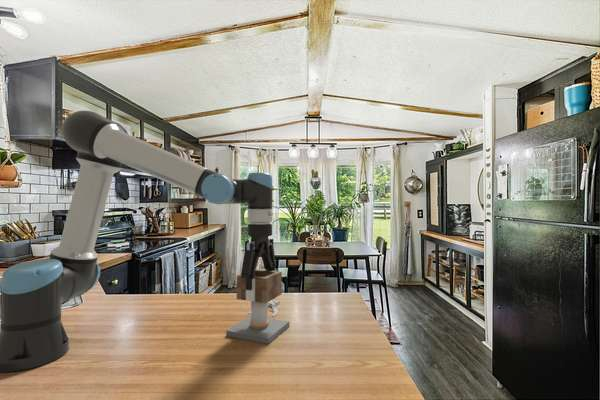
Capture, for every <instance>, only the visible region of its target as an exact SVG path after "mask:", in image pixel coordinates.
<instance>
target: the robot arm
mask: <svg viewBox="0 0 600 400" xmlns="http://www.w3.org/2000/svg"><path fill="white" fill-rule="evenodd" d="M61 135H62V137H63V140H64V141H65V142H66V144H67V145H68V146H69V147H70V148H71V149H72V150H74V151H76V152H77V154H76V158H75V160H76V161H77V162H78V164H79V165H80V167H79V170H78V171H79V172H78V175H77V179H76V183H75V186H74V190H73V193H72V197H71V201H70V205H69V208H68V211H67V215H66V219H65V223H64V227H63V231H62V233H61V234H62V235H61V238H60V242H59V245H58V246H57V247H55V248H53V249H51V250H50V253H49V257H48V258H41V259H33V260H30V261H22V262H20V263H16V264H14V265H12V266H9V267H7V268H6V269H5V270H4V271H3V273H2V276H1V283H0V373H9V372H10V373H13V372H19V371H26V370H29V369H33V368H36V367H40V366H43V365H47V364H49V363H52V362H54V361H56V360H58V359H60V358H62V357H63V356H65V354H67V353H68V351H69V349H70V340H69V338H68V337H69V336H68V334H67V332H66V329H65V327H64V325H63V322H62V304H63V303H66V302H69V301H70V300H73V299H74V298H79V297H81V296H82V295H84V294H86V293H87V292H89V291H90V290H92V289H93V288H94V287H95V286H96V284H97V283H98V281H99V279H100V276H101V267H100V265H99V264H98V258H99V255H98V253H97V252H96V250H95V247H96V243H97V239H98V235H99V231H100V228H101V223H102V220H103V216H104V213H105V208H106V206H107V200H108V198H109V193H110V189H111V185H112V182H113V178H114V175H115V173H117V172H119V171H121V170H122V167H123V165H125V166H128V167H130V168H133V169H134V170H137V171H140V172H142V173H145V174H147V175H149V176H151V177H154V178H156V179H159V180H161V181H164V182H165V183H168V184H170V185H173V186H175V187H178V188H180V189H182V190H184V191H187V192H189V193H191V194H195V195H196V196H199V197H200V198H202V199H205V200H207V201H208V203H209V204H215V205H223V204H226V205H231V204H233V205H234V204H236V205H238V204H243V205H247V222H248V224H247V236H248V237H250V242H245V243H244V253H243V258H242V259H243V261H242V266H241V273H240V274H241V277H242V278H245V279H246V300H245V301H246V302H247V301H248V302H251V301H253V302H254V301H255V278H254V274H255V270H257V266H258V262H259V259H260V257H261V259H262V263H263V267H264V270H267V271H276V267H277V263H276V255H275V249H274V242H275V241H274V238H269V237H272V236H273V224H272V222H273V215H274V213H273V193H274V192H273V176H272V174H270V173H268V172H258V171H257V172H249V173H248V174H247V178H245V179H236V178H235V179H233V178H230V177H228V176H227V175H224V174H222V173H218V172H216V171H215V170H214V171H213V170H211V169H209V168H208V167H204V166H203V165H200V164H197V163H195V162H193V161H191V160H189V159H186V158H184V157H181V156H180V155H177V154H175V153H173V152H170V151H167V150H165V149H163V148H162V147H158V146H156V145H154V144H151V143H149V142H147V141H144V140H142V139H140V138H137V137H135V136H133V135H132V134H131V133H130V132H129V130H127V129H126V128H125V127H124V126H123V125H121V124H120V123H118V122H116V121H113V120H111V119H109V118H107V117H106V116H103V115H102V114H99V113H97V112H94V111H91V110H78V111H77V110H76V111H75V112H73V113H71V114H69V115H68V116H67V117H66V118H65V119H64V120H63V123H62V126H61Z"/></svg>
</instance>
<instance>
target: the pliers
mask: <svg viewBox="0 0 600 400" xmlns="http://www.w3.org/2000/svg"><path fill="white" fill-rule="evenodd" d="M280 303H281V300H279V299H278V300H276V301H274V299H273V300H271V301H269V302H268V309H269V311H270V312H273V314H272V315H271V317H272V318H274V317H275V316H277V315H278V313H279V310H278V307H277V306H278V305H279V304H280ZM248 315H251V310H250V311H248Z"/></svg>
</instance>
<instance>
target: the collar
mask: <svg viewBox="0 0 600 400" xmlns="http://www.w3.org/2000/svg"><path fill="white" fill-rule="evenodd" d="M282 273H283V272H282V271H278V270H275V271H267V270H265V269H256V270H255V274H254V278H255V301H254V302H261V303H269V301H271V300H273V301H274V299H276V298H277V297H279V296H281V295H282V289H283V288H282V287H283V286H282V284H283V283H282V279H283V277H282V276H283V275H282ZM236 300H239V301H241V300H242V301H246V279H245V278H242V277H241V273H240V274H237V275H236Z"/></svg>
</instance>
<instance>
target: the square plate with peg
mask: <svg viewBox="0 0 600 400" xmlns="http://www.w3.org/2000/svg"><path fill="white" fill-rule="evenodd" d="M268 303H269V302H268ZM268 303H261V302H253V301H250V311H251V314H250V315H249V316H248V317H246V318H245V319H243V320H241V321H240V322H238V323H236V324H235V325H233V326H232V327H230V328H229V329H226V332H225V333H226V336H227V337H232V338H237V339H241V340H245V341H251V342H252V341H253V342H256V343H257V342H258V343H261V344H266V345H269V344H270V343H272V342H273V341H274V340H275V339H277V337H278V336H280V335H281V334H282V333H283V332H285V330H287V329H288V328H289V327H290V321H289V320H284V319H283V320H282V319H276V318H270V317H268V309H269V307H268Z"/></svg>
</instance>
